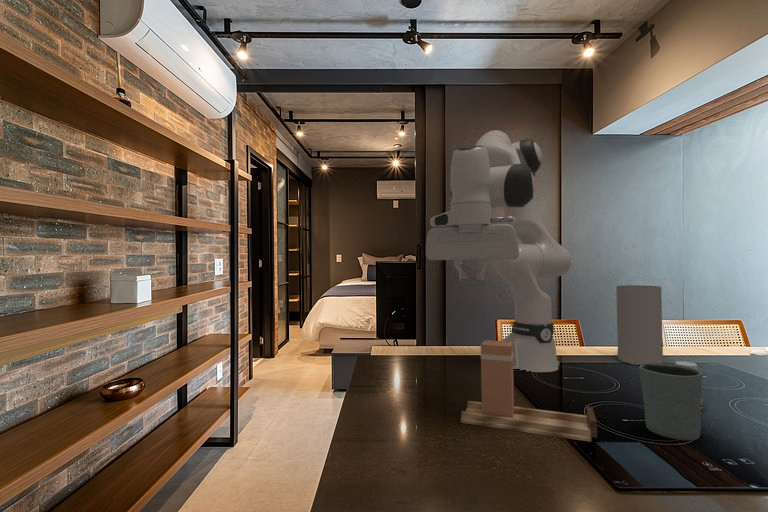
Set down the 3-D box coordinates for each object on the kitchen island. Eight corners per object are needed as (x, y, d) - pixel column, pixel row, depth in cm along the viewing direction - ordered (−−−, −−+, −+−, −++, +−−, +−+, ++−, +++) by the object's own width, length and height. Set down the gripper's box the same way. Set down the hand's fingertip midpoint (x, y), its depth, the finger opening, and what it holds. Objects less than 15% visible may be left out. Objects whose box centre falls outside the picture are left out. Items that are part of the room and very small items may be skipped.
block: (481, 417, 81) (480, 344, 82) (485, 408, 86) (484, 340, 87) (512, 421, 79) (511, 346, 79) (514, 412, 84) (513, 341, 84)
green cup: (686, 446, 70) (684, 378, 70) (629, 426, 79) (627, 366, 79) (715, 434, 75) (713, 371, 75) (657, 416, 84) (656, 360, 84)
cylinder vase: (672, 366, 123) (670, 287, 124) (632, 367, 124) (630, 287, 124) (646, 357, 136) (644, 285, 136) (610, 357, 136) (608, 285, 137)
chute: (460, 422, 81) (460, 405, 81) (468, 407, 89) (468, 391, 90) (597, 442, 72) (597, 422, 72) (592, 424, 80) (591, 406, 80)
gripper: (521, 217, 86) (522, 280, 86) (430, 221, 94) (431, 279, 94) (519, 213, 80) (520, 281, 80) (423, 219, 88) (423, 280, 88)
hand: (471, 280), depth 87 cm, fingers open, 2 cm apart
